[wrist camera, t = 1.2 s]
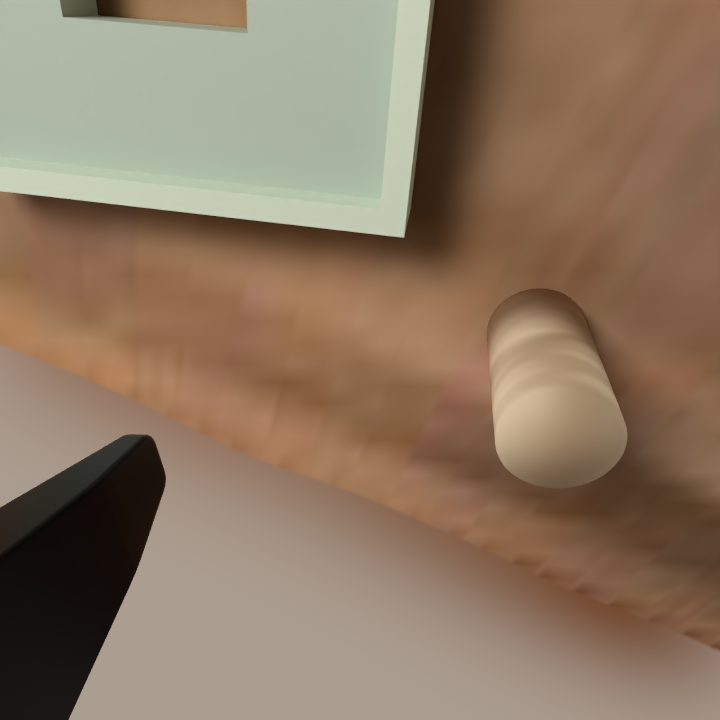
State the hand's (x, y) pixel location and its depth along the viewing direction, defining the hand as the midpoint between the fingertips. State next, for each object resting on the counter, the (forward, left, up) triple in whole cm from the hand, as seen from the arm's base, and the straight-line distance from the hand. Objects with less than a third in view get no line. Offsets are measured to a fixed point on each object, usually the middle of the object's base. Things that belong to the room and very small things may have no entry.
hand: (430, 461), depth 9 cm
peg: (-4, +4, -14) cm, 15 cm away
